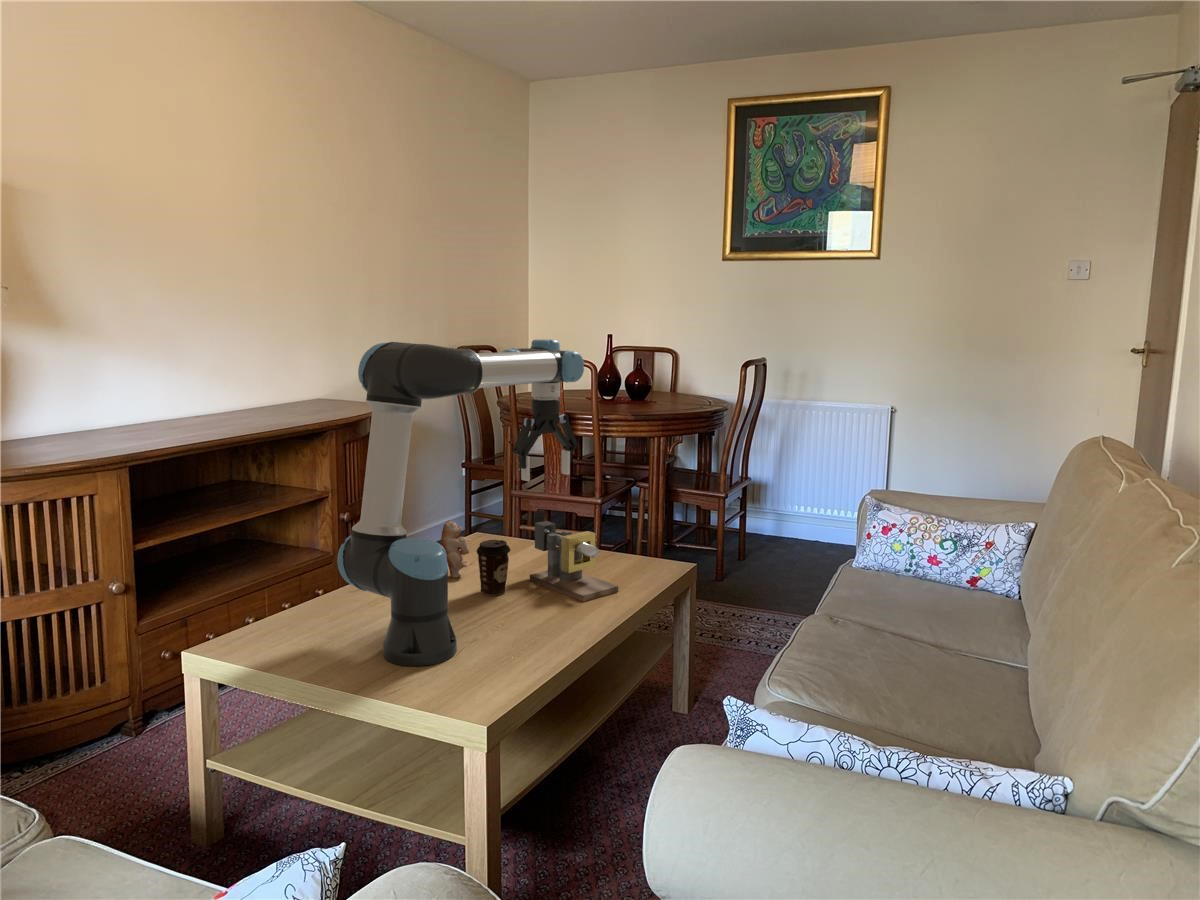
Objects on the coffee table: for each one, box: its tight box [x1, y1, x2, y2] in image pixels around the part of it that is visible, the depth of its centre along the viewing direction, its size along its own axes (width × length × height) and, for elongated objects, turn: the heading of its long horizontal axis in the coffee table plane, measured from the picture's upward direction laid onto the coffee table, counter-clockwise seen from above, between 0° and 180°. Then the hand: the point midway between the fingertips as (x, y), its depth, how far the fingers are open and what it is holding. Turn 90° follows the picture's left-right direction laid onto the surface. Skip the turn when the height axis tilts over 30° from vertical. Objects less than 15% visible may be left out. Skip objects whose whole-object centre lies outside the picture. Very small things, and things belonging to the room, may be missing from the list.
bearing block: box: [529, 530, 619, 603], centre depth 221 cm, size 12×22×13 cm, turn 42°
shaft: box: [534, 520, 599, 559], centre depth 222 cm, size 4×22×7 cm, turn 42°
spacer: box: [561, 530, 596, 573], centre depth 219 cm, size 9×3×9 cm, turn 132°
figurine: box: [440, 519, 470, 579], centre depth 228 cm, size 6×8×15 cm
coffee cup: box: [476, 539, 511, 597], centre depth 215 cm, size 9×8×13 cm
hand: (546, 477), depth 226 cm, fingers open, 13 cm apart
